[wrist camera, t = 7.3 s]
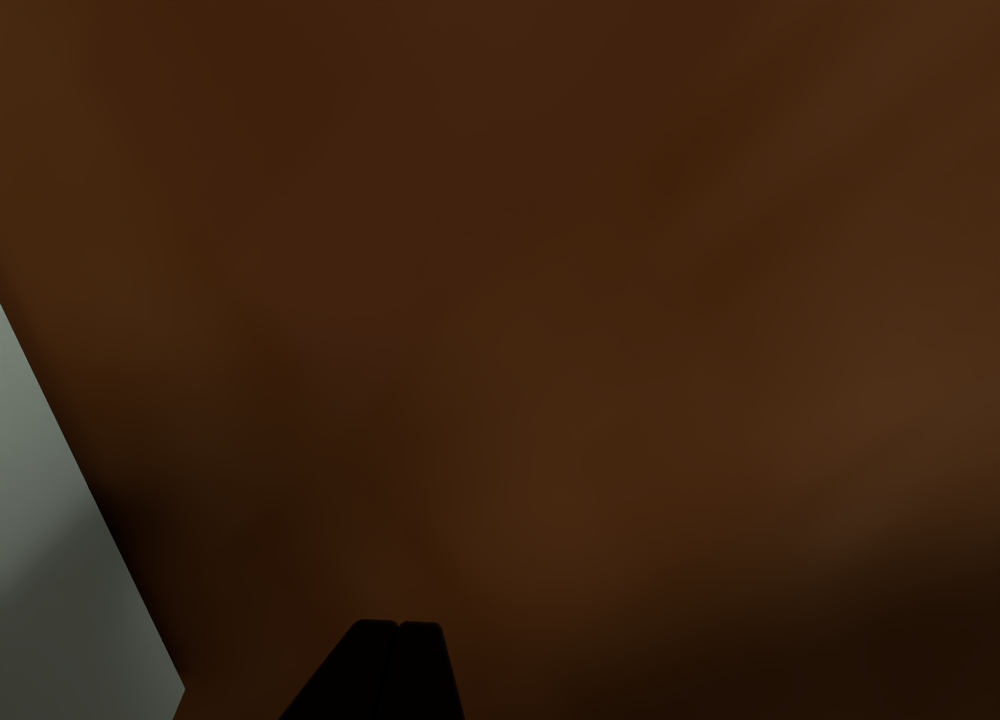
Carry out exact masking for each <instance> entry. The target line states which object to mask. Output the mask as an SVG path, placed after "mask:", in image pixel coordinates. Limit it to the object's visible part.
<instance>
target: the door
mask: <svg viewBox="0 0 1000 720" xmlns="http://www.w3.org/2000/svg"><path fill="white" fill-rule="evenodd" d="M184 691H185V687H184V685H183V683H182V681H181V679H180V677H179V675H178V673H177V671H176V669H175V667H174V665H173V662H172V660H171V658H170V656H169V654H168V652H167V650H166V648H165V646H164V644H163V642H162V640H161V637H160V635H159V633H158V631H157V629H156V627H155V625H154V623H153V621H152V619H151V617H150V615H149V613H148V610H147V608H146V606H145V604H144V602H143V600H142V598H141V596H140V594H139V592H138V590H137V588H136V585H135V583H134V581H133V579H132V577H131V575H130V573H129V571H128V569H127V567H126V565H125V563H124V561H123V558H122V556H121V554H120V552H119V550H118V548H117V546H116V544H115V542H114V540H113V538H112V536H111V533H110V531H109V529H108V527H107V525H106V523H105V521H104V519H103V517H102V515H101V513H100V511H99V509H98V506H97V504H96V502H95V500H94V498H93V496H92V494H91V492H90V490H89V488H88V486H87V484H86V482H85V479H84V477H83V475H82V473H81V471H80V469H79V467H78V465H77V463H76V461H75V459H74V457H73V454H72V452H71V450H70V448H69V446H68V444H67V442H66V440H65V438H64V436H63V434H62V432H61V430H60V427H59V425H58V423H57V421H56V419H55V417H54V415H53V413H52V411H51V409H50V407H49V405H48V402H47V400H46V398H45V396H44V394H43V392H42V390H41V388H40V386H39V384H38V382H37V380H36V378H35V375H34V373H33V371H32V369H31V367H30V365H29V363H28V361H27V359H26V357H25V355H24V353H23V350H22V348H21V346H20V344H19V342H18V340H17V338H16V336H15V334H14V332H13V330H12V328H11V326H10V323H9V321H8V319H7V317H6V315H5V313H4V311H3V309H2V307H1V305H0V720H173V717H174V715H175V712H176V710H177V708H178V705H179V703H180V700H181V698H182V696H183V693H184Z"/></svg>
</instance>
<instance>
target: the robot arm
mask: <svg viewBox="0 0 1000 720" xmlns="http://www.w3.org/2000/svg"><path fill="white" fill-rule="evenodd" d="M278 720H465V717H464V713H463V709H462V705H461V702H460V698H459V694H458V690H457V686H456V682H455V678H454V674H453V670H452V666H451V662H450V658H449V654H448V650H447V646H446V642H445V638H444V634H443V631H442V628H441V626H440V625H439V624H437V623H434V622H413V621H406V622H403V623H401V624H400V626H398V624H397V623H396V622H394V621H391V620H372V619H362V620H359V621H357V622H355V623H354V624H353V625H352V626H351V627H350V629H349V630H348V631H347V632H346V634H345V635H344V636H343V638H342V639H341V640H340V641H339V643H338V644H337V645H336V646H335V648H334V649H333V650H332V652H331V653H330V654H329V655H328V657H327V658H326V659H325V660H324V662H323V663H322V664H321V665H320V667H319V668H318V669H317V671H316V672H315V673H314V674H313V676H312V677H311V678H310V679H309V681H308V682H307V683H306V685H305V686H304V687H303V688H302V690H301V691H300V692H299V693H298V695H297V696H296V697H295V698H294V700H293V701H292V702H291V704H290V705H289V706H288V707H287V709H286V710H285V711H284V712H283V714H282V715H281V716H280V718H279V719H278Z"/></svg>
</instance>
